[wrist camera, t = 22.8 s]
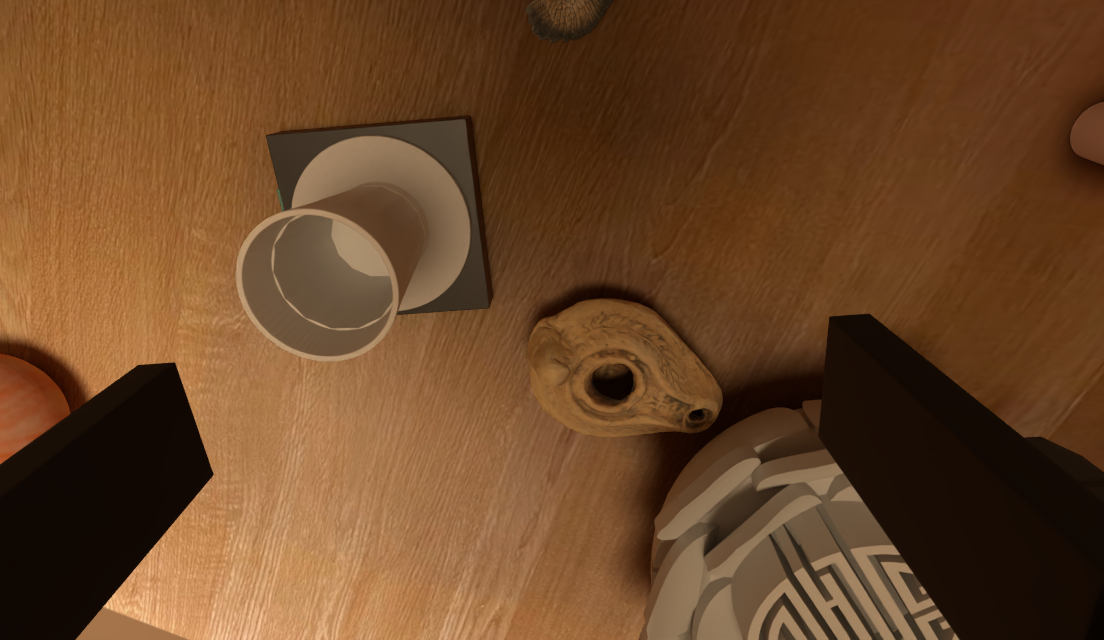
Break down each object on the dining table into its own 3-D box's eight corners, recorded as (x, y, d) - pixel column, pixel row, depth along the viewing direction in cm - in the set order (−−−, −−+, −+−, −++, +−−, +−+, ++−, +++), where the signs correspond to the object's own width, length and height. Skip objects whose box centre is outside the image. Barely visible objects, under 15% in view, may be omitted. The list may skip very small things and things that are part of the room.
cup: (325, 280, 43) (244, 355, 32) (317, 163, 40) (226, 201, 29) (440, 289, 43) (399, 367, 32) (441, 174, 40) (397, 215, 29)
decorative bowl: (532, 449, 52) (523, 590, 38) (870, 260, 45) (1008, 347, 31) (705, 667, 61) (748, 844, 47) (1006, 536, 55) (1157, 697, 41)
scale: (470, 115, 42) (464, 119, 39) (492, 296, 47) (488, 311, 44) (274, 132, 42) (254, 136, 40) (317, 309, 47) (302, 324, 44)
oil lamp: (696, 429, 51) (719, 492, 44) (515, 398, 50) (508, 456, 43) (736, 307, 47) (770, 352, 39) (540, 270, 46) (537, 309, 39)
